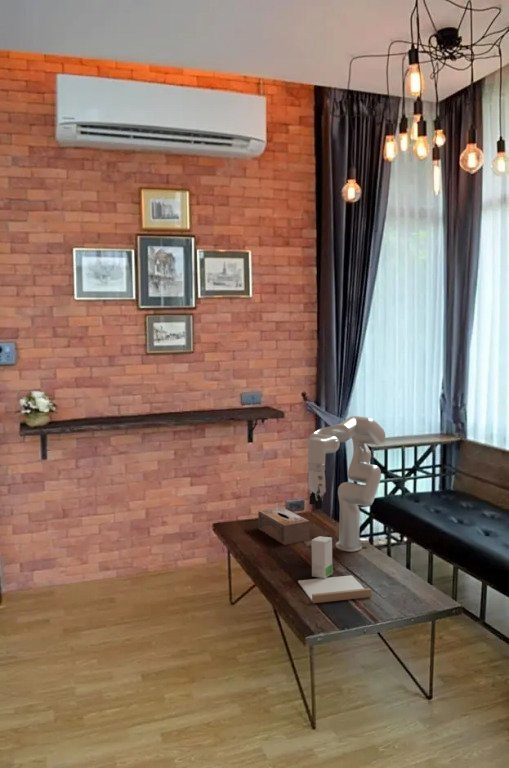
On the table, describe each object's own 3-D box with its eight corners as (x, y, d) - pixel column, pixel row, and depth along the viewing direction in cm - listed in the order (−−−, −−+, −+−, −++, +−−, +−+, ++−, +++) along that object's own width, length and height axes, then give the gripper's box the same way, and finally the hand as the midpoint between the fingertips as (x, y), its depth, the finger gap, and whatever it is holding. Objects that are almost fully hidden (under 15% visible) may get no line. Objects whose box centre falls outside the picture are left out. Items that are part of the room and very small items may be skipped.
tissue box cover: (309, 540, 298) (309, 520, 297) (284, 545, 291) (284, 525, 290) (281, 525, 321) (282, 506, 320) (258, 529, 314) (258, 510, 313)
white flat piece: (351, 576, 255) (351, 569, 255) (371, 596, 236) (371, 589, 236) (297, 582, 249) (297, 575, 249) (313, 603, 231) (313, 595, 230)
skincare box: (324, 579, 251) (324, 542, 250) (310, 576, 254) (310, 540, 254) (333, 573, 258) (332, 537, 257) (319, 570, 261) (318, 535, 261)
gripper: (331, 470, 253) (331, 512, 255) (318, 461, 270) (317, 500, 271) (314, 471, 251) (314, 513, 253) (302, 462, 268) (301, 501, 270)
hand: (315, 506), depth 262 cm, fingers open, 6 cm apart
